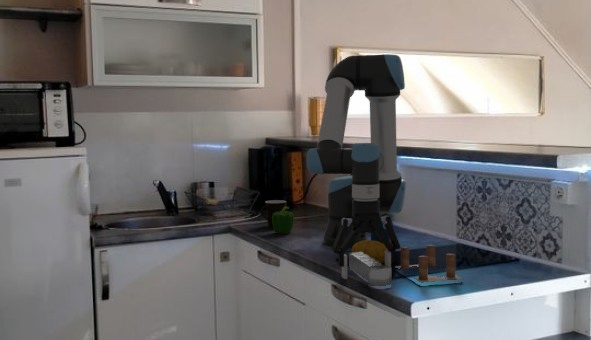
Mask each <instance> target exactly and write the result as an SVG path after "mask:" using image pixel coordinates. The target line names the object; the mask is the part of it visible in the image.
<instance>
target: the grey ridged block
mask: <svg viewBox="0 0 591 340" xmlns="http://www.w3.org/2000/svg"><path fill="white" fill-rule="evenodd" d="M349 267H350V268H351V269H352V270H354V271H355V272H356V273H358V274H359V275H361V276H362V277H363V278H365V279H366V280H368V283H369V284H368V283H367V284H368V286H369V285H370V286H386V285H390V284H391V283H393V281H392V266H391V267H389V266H385V264H383V263H379V262H377V261H376V260H374V259H373V258H371V257H369V256H368V255H366V254H364V253H363V252H354V253H352V252H348V268H349Z"/></svg>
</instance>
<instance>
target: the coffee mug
mask: <svg viewBox="0 0 591 340" xmlns="http://www.w3.org/2000/svg"><path fill="white" fill-rule="evenodd" d="M264 204H265V206H262V207H261V209H260V214H261V217H262V218H264V219H265V220H267V225H268V228H272V229H274V227H273V223H272V215H273V213H275V212H281V213H282V209H283V208H284V207H287V201H286V200H284V199H283V200H281V199H280V200H279V199H278V200H277V199H274V200H273V199H272V200H265V202H264ZM264 209H266V210H265V211H266V216H265V215H264V214H263V210H264ZM286 210H287V209H285V211H286ZM285 211H284V212H285Z"/></svg>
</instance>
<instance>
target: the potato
mask: <svg viewBox="0 0 591 340" xmlns="http://www.w3.org/2000/svg"><path fill="white" fill-rule="evenodd" d="M351 247H352V248H351V253H354V252H363V253H364V254H366V255H368V256H369V257H371V258H373V259H374V260H376V261H377V262H379V263H381V264H385V251H388V249H387V248H386V247H385V245H384V244H383V243H380V242H378V241H373V240H371V239H370V240H368V239H367V240H363V241H360V242H358V243H356V244H354V245H353V246H351Z"/></svg>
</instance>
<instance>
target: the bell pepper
mask: <svg viewBox="0 0 591 340" xmlns="http://www.w3.org/2000/svg"><path fill="white" fill-rule="evenodd" d="M285 209H286V210H289V209H290V206H286V207H284V208H283V209H282V213H281V212H275V213H273V215H272V223H273V227H274V228H273V230H274V233H275V234H280V235H286V234H287V235H288V234H289V233H291V231H292V229H293V225H294V220H295V219H294V216H295V215H294V213H293V211H285ZM284 211H285V212H284Z"/></svg>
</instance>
